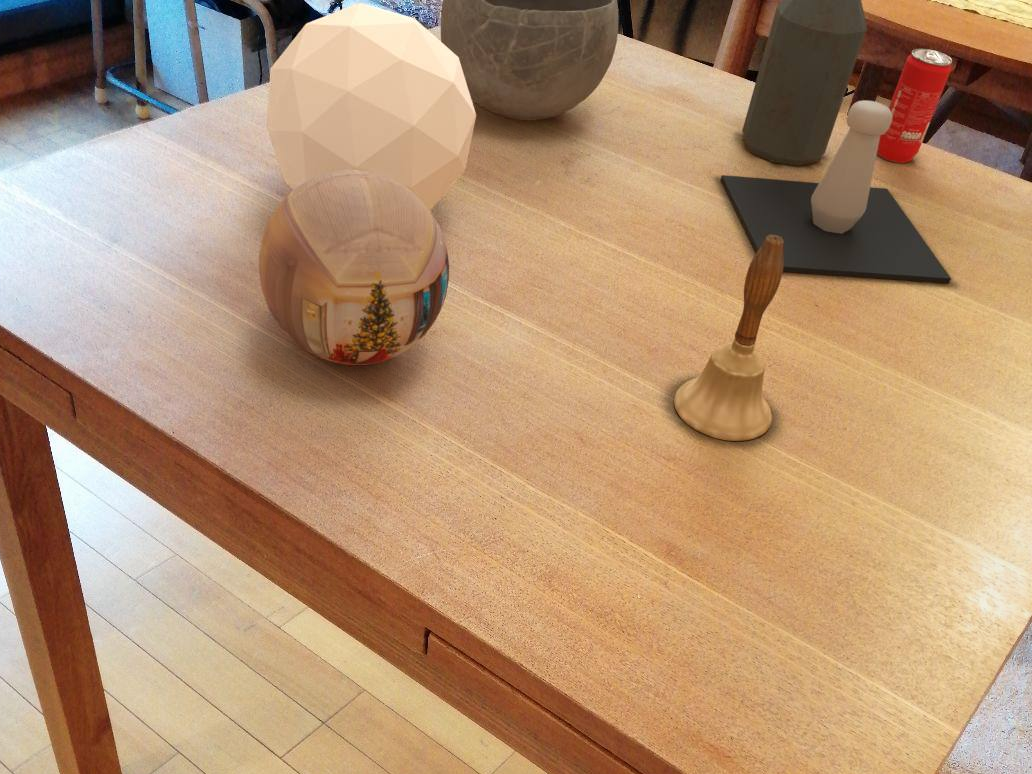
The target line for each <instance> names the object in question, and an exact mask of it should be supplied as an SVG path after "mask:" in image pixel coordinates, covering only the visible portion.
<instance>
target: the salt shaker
mask: <svg viewBox="0 0 1032 774" xmlns="http://www.w3.org/2000/svg"><path fill="white" fill-rule="evenodd" d="M892 117H893V115H892V113H891V111H890V109H889V106H887V105H885V104H883V103H880V102H878V101H874V100H864V99H863V100H858V101H856V102H854V103H853V104H852V105H851V107H850V109H849V110H848V112H847V116H846V124H847V127H849V129H848V131H847V133H846V135H845V137H844V139H843V140H842V142H841V144H840V146H839V148H838V150H837V151H836V153H835V155H834V156H833V158H832V160H831V162H830V163H829V165H828V167H827V169H826V171H825V172H824V174H823V176H822V178H821V179H820V181H819V182H818V183H819V184H818V186H817V188H816V189H815V191H814V193H813V195H812V197H811V205H812V213H813V224H815V225H816V226H818V227H820V228H821V229H823V230H824V231H827V232H834V233H840V234H842V233H844V232H846V231H848V230H849V229H851V228H852V226H853V225H854V224H855V223H856V222H857V221H858V220H859V219H860V218H861V217H862V215H863V214H864V212H865V210H866V206H867V201H868V196H869V191H870V187H872V181H873V175H874V170H875V165H876V159H877V155H878V154H877V150H878V144H879V139H880V135H883V134H885V133H886V132H887V130H888V129H889V127H890V125H891V122H892Z"/></svg>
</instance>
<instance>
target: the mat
mask: <svg viewBox="0 0 1032 774" xmlns="http://www.w3.org/2000/svg"><path fill="white" fill-rule="evenodd" d="M720 181H721V184H722V186H723V187H724V190H725V192H726V194H727V196H728V198H729V200H730V202H731V204H732V206H733V208H734V211H735V212H736V215H737V216H738V219H739V220H740V223H741V225H742V227H743V229H744V231H745V233H746V235H747V237H748V239H749V241H750V244H751V245H752V247H753V249H754V250H753V251H754V252H755V254H756V253H757V252H758V250H759V249H760V248H761V246H762V245H763V243H764V241H765V240H766V237H767V236H769V235H777V236H780V237H782V239H783V273H796V274H812V275H825V276H842V277H853V278H854V277H855V278H869V279H881V280H882V279H884V280H896V281H908V282H909V281H910V282H912V281H913V282H924V283H937V284H938V283H940V284H950V282H951V280H952V277H951V276H950V275H949V273H948V272H947V270H946V269H945V268H944V266H943V265H942V263H941V262H940V260H939V259H938V258H937V256H936V255H935V254H934V252H933V250H932V249H931V247H930V246H929V245H928V244H927V242H926V241H925V240H924V238H923V237H922V235H921V234H920V233H919V231H918V230H917V228H916V227H915V225H914V224H913V222H912V221H911V220H910V219H909V217H908V216H907V214H906V213H905V211H904V210H903V209H902V208H901V206H900V204H899V203H898V202H897V200H896V199H895V198H894V196H893V195H892V193H891V192H890V191H889V189H888V188H883V187H874V186H873V187H872V186H870V191H869V196H868V201H867V206H866V210H865V212H864V214H863V215H862V217H861V218H860V219H859V220H858V221H857V222H856V223H855V224H854V225H853V226H852V228H851V229H849V230H848V231H846V232H844V233H842V234H840V233H834V232H827V231H824V230H823V229H821V228H820V227H818V226H816V225H815V224H813V213H812V205H811V197H812V195H813V193H814V191H815V189H816V188H817V186H818V184H819V182H811V181H798V180H788V179H776V178H775V179H774V178H764V177H763V178H761V177H751V176H737V175H726V174H722V175H721V176H720Z"/></svg>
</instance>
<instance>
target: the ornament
mask: <svg viewBox="0 0 1032 774" xmlns="http://www.w3.org/2000/svg"><path fill="white" fill-rule="evenodd" d="M449 261H450V260H449V251H448V247H447V244H446V240H445V237H444V234H443V231H442V229H441V227H440V225H439V223H438V221H437V219H436V218H435V216H434V215H433V213H432V212H431V210H429V209H428V208H427V207H426V205H425V204H424V203H423V202H422V201H421V200H420V199H419V197H417V196H416V195H415V194H414V193H413V192H411V191H410V190H409V189H408V188H406V187H405V186H403V185H402V184H400V183H398V182H396V181H395V180H393V179H391V178H389V177H386V176H383V175H380V174H377V173H373V172H368V171H362V170H340V171H333V172H329V173H325V174H322V175H320V176H317V177H314V178H312V179H310V180H308V181H306V182H305V183H303V184H301V185H300V186H298V187H297V188H295V189H294V190H293V189H292V191H291V192H290V193H289V194H288V195H286V196H285V197H284V198H283V199H282V200H281V202H280V203H279V205H277V207H276V208H275V210H274V211H273V212H272V214H271V216H270V218H269V220H268V222H267V223H266V226H265V228H264V232H263V234H262V237H261V242H260V247H259V252H258V273H259V274H258V275H259V283H260V287H261V291H262V296H263V298H264V300H265V301H264V302H265V303H266V305H267V308H268V309H269V312H270V313H271V315H272V317H273V319H274V320H275V321H276V323H277V325H278V327H280V328H281V330H282V331H283V332H284V333H285V334H286V335H287V336H288V337H289V338H290V339H291V341H293V342H294V343H296V344H297V345H298V346H299V347H301V348H302V349H303V350H305V351H307V352H309V353H310V354H313V355H314V356H316V357H318V358H320V359H322V360H325V361H330V362H333V363H336V364H343V365H351V366H352V365H353V366H356V365H357V366H363V365H364V366H365V365H371V364H378V363H381V362H384V361H387V360H390V359H393V358H395V357H397V356H399V355H402V354H403V353H405V352H406V351H407V350H409V349H410V348H412V347H414V346H415V345H416V344H417V343H418V342H419V341H420V340H421V339H422V338H423V337H424V336H425V335H427V333H428V332H429V330H430V329H431V328H432V326H433V325H434V323H436V320H437V318H438V316H439V315H440V313H441V310H442V309H443V306H444V303H445V301H446V297H447V292H448V287H449V283H450V262H449Z"/></svg>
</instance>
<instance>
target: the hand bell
mask: <svg viewBox="0 0 1032 774" xmlns="http://www.w3.org/2000/svg"><path fill="white" fill-rule="evenodd" d="M783 274H784V272H783V239H782V237H780V236H777V235H769V236H767V237H766V240H765V241H764V243H763V245H762V246H761V248H760V249H759V250H758V252H757V253H756V252H755V255H754V256H753V258H752V259H751V261H750V263H749V266H748V268H747V272H746V275H745V278H744V279H745V280H744V285H743V309H742V314H741V316H740V318H739V319H740V320H739V322H738V325H737V327H736V331H735V334H734V339H733V342H725V343H722V344H720V345H718V346H716V347H715V348H714V349H713V350H712V352H711V354H710V356H709V358H708V361H707V363H706V364H705V366H704V368H703V369H702V371H701V372H700V374H699V375H698V376H697V377H694V378H692V379H690V380H688V381H686V382H684V383H683V384H682V385H680V386H679V388H678V389H677V390H676V391H675V394H674V397H673V404H674V405H673V406H674V408H675V411H676V412H677V414H678V416H679V417H680V419H681V420H682V421H683V422H684V423H685V424H686V425H687V426H689V427H691V428H692V429H694V430H695V431H697V432H699V433H701V434H703V435H706V436H709V437H711V438H714V439H717V440H721V441H730V442H741V441H750V440H753V439H756V438H759V437H761V436H763V435H764V434H765V433H767V431H768V430H769V429H770V427H771V425H772V420H773V416H772V410H771V408H770V405H769V403H768V401H767V400H766V399H765V397H764V395H763V393H764V392H763V386H764V385H763V383H764V376H765V371H766V367H767V366H766V364H767V363H766V360H765V358H764V356H763V354H761V353H760V352H759V351H758V350H756V349H755V346H756V341H757V338H758V333H759V329H760V325H761V321H762V318H763V315H764V313H765V311H766V310H767V308H768V307H769V305H770V304H771V302H772V301H773V299H774V297H775V296H776V294H777V292H778V289H779V287H780V284H781V280H782V277H783Z"/></svg>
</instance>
